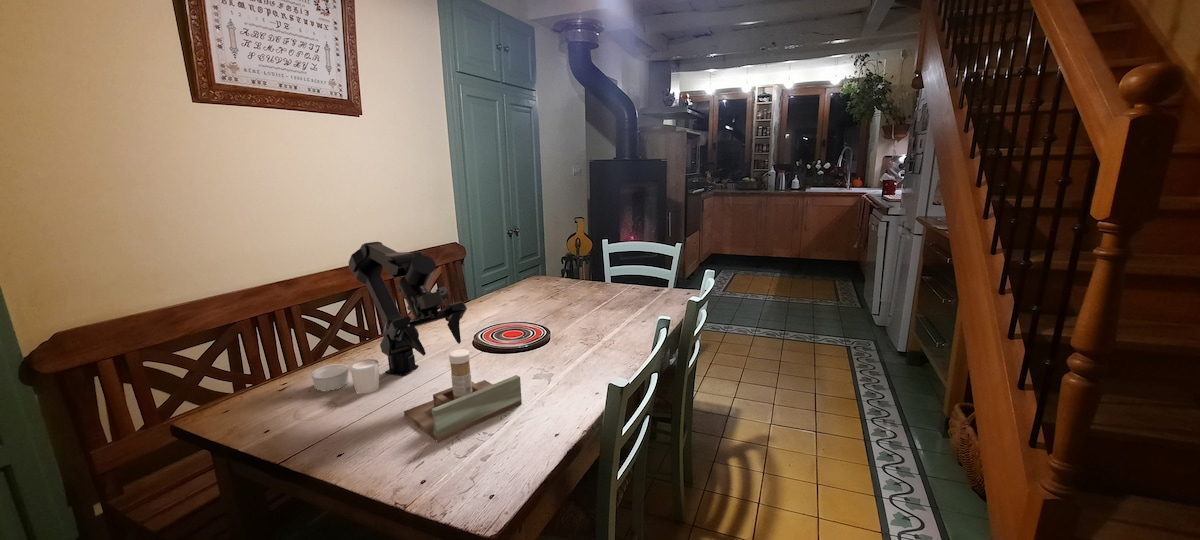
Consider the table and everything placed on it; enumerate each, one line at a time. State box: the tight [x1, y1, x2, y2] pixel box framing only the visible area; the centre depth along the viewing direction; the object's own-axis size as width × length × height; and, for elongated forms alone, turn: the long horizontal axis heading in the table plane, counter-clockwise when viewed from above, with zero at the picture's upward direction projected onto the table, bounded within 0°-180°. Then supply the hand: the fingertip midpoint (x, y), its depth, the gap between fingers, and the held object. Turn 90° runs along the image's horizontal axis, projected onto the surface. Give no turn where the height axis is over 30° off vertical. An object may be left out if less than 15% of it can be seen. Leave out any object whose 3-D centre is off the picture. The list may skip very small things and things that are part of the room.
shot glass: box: [349, 358, 380, 394], centre depth 127 cm, size 7×7×7 cm
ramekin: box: [310, 363, 350, 392], centre depth 130 cm, size 9×9×4 cm
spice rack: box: [403, 374, 523, 443], centre depth 116 cm, size 16×22×7 cm
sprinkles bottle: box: [448, 348, 473, 400], centre depth 115 cm, size 5×5×13 cm
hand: (442, 348), depth 119 cm, fingers open, 9 cm apart
